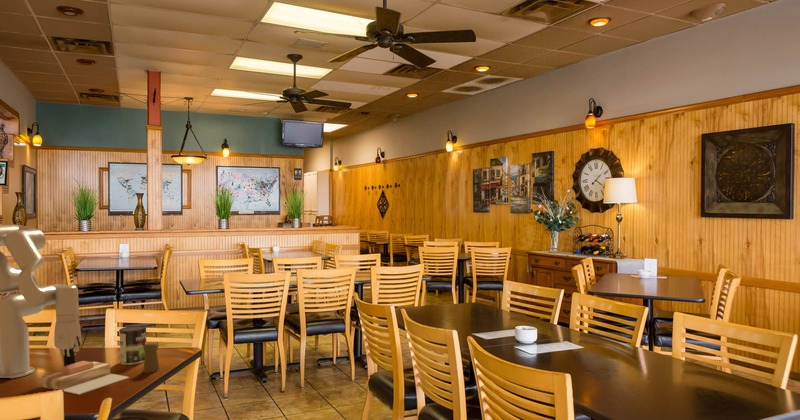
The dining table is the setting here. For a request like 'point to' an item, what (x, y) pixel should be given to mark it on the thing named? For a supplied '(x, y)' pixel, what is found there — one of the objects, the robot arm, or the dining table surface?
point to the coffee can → (132, 345)
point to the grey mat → (94, 384)
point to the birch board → (74, 376)
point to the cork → (151, 358)
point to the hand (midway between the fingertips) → (69, 365)
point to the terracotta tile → (76, 367)
